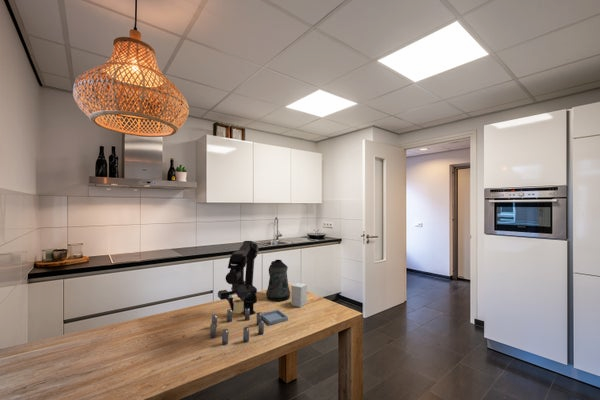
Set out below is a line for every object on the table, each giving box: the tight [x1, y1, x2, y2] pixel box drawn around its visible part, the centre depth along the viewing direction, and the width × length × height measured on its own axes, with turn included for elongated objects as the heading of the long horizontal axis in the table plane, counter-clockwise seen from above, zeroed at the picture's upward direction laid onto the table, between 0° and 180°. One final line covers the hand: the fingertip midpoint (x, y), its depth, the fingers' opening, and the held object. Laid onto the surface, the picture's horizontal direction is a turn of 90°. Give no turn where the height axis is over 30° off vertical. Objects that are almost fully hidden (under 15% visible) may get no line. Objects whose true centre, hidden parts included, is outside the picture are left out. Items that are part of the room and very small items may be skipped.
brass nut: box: [231, 298, 244, 314], centre depth 134 cm, size 6×5×5 cm
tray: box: [261, 309, 289, 326], centre depth 148 cm, size 11×11×2 cm
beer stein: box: [265, 259, 291, 303], centre depth 182 cm, size 16×19×25 cm
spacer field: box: [209, 308, 265, 346], centre depth 135 cm, size 27×27×6 cm
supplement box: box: [290, 282, 308, 308], centre depth 169 cm, size 7×7×13 cm
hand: (237, 309), depth 134 cm, fingers closed on brass nut, 5 cm apart
